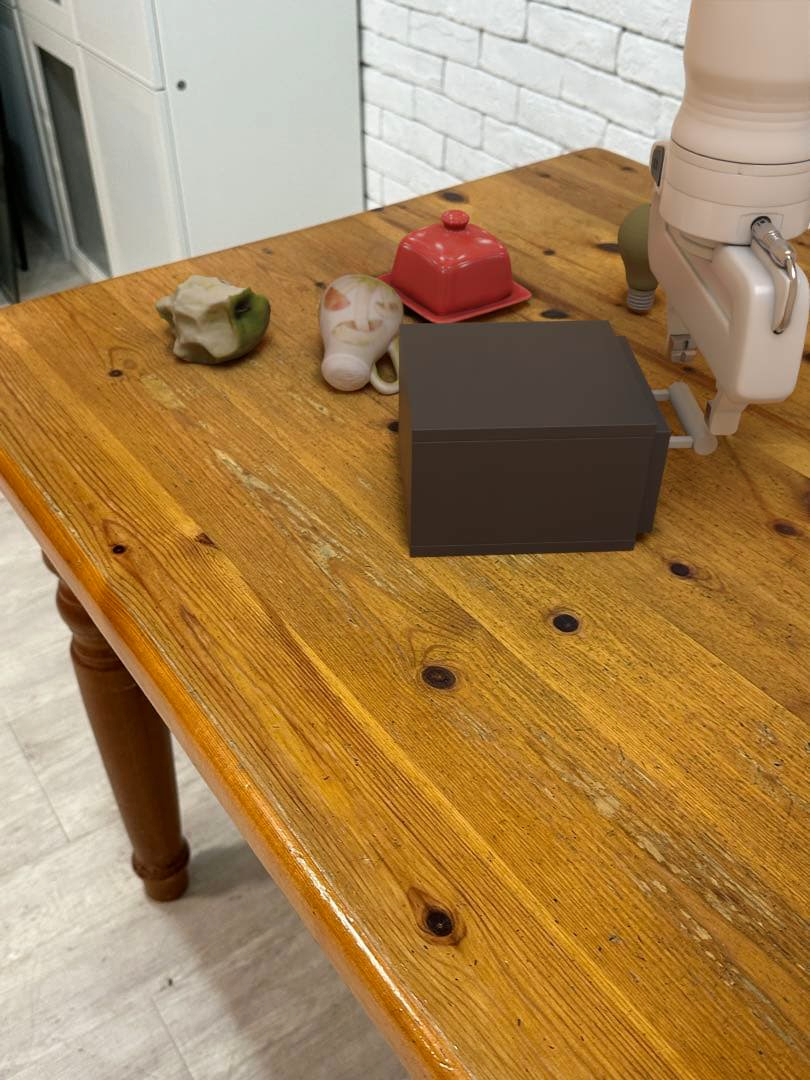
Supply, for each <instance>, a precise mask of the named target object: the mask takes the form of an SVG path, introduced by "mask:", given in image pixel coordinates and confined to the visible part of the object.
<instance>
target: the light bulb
mask: <svg viewBox="0 0 810 1080" xmlns="http://www.w3.org/2000/svg"><path fill="white" fill-rule="evenodd" d="M650 208H651V202H647V203H643V204H640V205H638V206H636V207H634V208H633V209H631V210H630V211H629V212H628V213H627V214H625V216H624V218H623V219H622V220H621V222H620V225H619V228H618V230H617V231H618V232H617V237H616V238H617V240H616V241H617V247H618V251H619V255H620V257H621V261H622V263H623V266H624V272H625V281H626V284H627V285H628V287H627V295H626V303H625V304H626V306H628V308H629V309H631V310H632V312H634V314H635V313H636V314H643V313H644V312H647V310H649V309H652V307H653V306H654V300H655V294H656V291H657V290H656V289H658V286H659V285H660V284H659V283H658V281H657V279H656V278H655V276H654V274H653V273H652V271H651V269H650V265H649V258H648V232H649V219H650Z"/></svg>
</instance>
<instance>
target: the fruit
mask: <svg viewBox="0 0 810 1080" xmlns="http://www.w3.org/2000/svg"><path fill="white" fill-rule="evenodd" d="M173 291H174V292H173V293H172V294H171V295H166V296H163V297H161V298H160V299H159V300H158V301H155V306H154V307H155V310H156V311H157V313H158V315H159V317H160V319H163V320H165V321H166V322H167V323H168V324H169V327H170V331H171V333H172V335H173V336H174V337H175V341H174V345H173V349H172V355H174V356H176V357H177V358H179V359H181V360H184V361H186V362H190V363H192V364H193V363H194V364H199V365H200V364H201V365H218V364H222V363H225V362H228V361H231V360H235V359H237V358H240V357H242V356H244V355H246V354H248V353H249V352H251V351H252V350H254V349H255V347H256V346H257V345H258V344H259V343H261V341H262V340H263V338H264V336H265V333H266V332H267V330H268V327H269V325H270V319H271V313H272V306H271V303H270V301H269V299H268V297H266V296H265V294H262V293H256V292H255V291H252V287H251V286H249V285H246V287H238V286H235V285H232V284H231V283H230V282H229V281H227V280H224V279H219V278H218V277H217V276H211V277H207V276H203V275H201V274H194V275H193V274H192V275H189V276H188V277H187V278H186V280H185V281H184V282H183V283H179V284H178V285H177V286H176V288H175V289H174V290H173Z"/></svg>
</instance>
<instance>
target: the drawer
mask: <svg viewBox="0 0 810 1080" xmlns="http://www.w3.org/2000/svg"><path fill="white" fill-rule="evenodd" d="M616 337H617V339H618V342H619V344H620V346H621V348H622V350H623V352H624V354H625V357H626V359H627V361H628V363H629V365H630V367H631V369H632V372H633V374H634V376H635V378H636V380H637V382H638V384H639V386H640V389H641V391H642V393H643V395H644V397H645V399H646V401H647V404H648V406H649V408H650V410H651V412H652V414H653V416H654V419H655V421H656V423H657V428H656V433H655V438H654V443H653V449H652V454H651V459H650V465H649V470H648V475H647V481H646V486H645V491H644V497H643V502H642V507H641V513H640V518H639V523H638V529H637V534H651V533H652V532H653V527H654V521H655V517H656V512H657V507H658V502H659V497H660V491H661V486H662V481H663V477H664V472H665V467H666V462H667V456H668V450H669V449H693V451H694V453H695V454H697V455H699V456H708V455H711V454H712V453H714V452H715V451H716V449H717V448H718V443H719V441H718V439H717V436H716V435H712V434H711V433H710V431H709V429H708V427H707V425H706V423H705V421H704V415H705V413H704V412H703V411H702V408H701V407H700V405H699V403H698V402H697V400H696V397H695V396H694V394H693V392H692V390H691V388H690V387H689V385H688V384H687V383H686V382H684V381H676V382H673V383H672V384H670V385H669V386H668V388H667V389H651V387H650V384H649V382H648V381H647V377H646V375H645V374H644V371H643V369H642V368H641V366H640V364H639V361H638V359H637V357H636V355H635V353H634V351H633V349H632V347H631V344H630V343H629V341H628V339H627V337H626V335H616ZM664 401H665V402H669V403H670V405H671V408H672V410H673V412H674V414H675V416H676V417H677V420H678V421H679V423H680V426H681V428H682V429H683V431H684V434H685V435H677V436H676V435H675V436H674V435H673V436H672V430H671V427H670V425H669V424H668V421H667V418H666V417H665V415H664V413H663V410H662V409H661V407H660V404H659V403H658V402H664Z"/></svg>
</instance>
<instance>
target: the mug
mask: <svg viewBox="0 0 810 1080" xmlns="http://www.w3.org/2000/svg"><path fill="white" fill-rule="evenodd" d="M404 314H405V313H404V303H402V301H401V299H400V297H399V296H398V294H397V293H396V292H395V291H394V290H393V289H392V288H391V287H390V286H389V285H387V284H386V283H384V282H383V281H381V280H379V279H377V278H376V277H373V276H371V275H366V274H359V273H358V274H357V273H356V274H354V273H353V274H345V275H341V276H339V277H338V278H336V279H334V280H332V281H331V282H330V284H329V285H327V287H326V288H325V290H324V291H323V294H322V295H321V298H320V301H319V304H318V308H317V322H318V329H319V332H320V336H321V340H322V343H323V346H324V354H323V358H322V362H321V365H320V370H321V374H322V377H323V378H324V380H325V381H326V382H327V383H328V384H329V385H330V386H331V387H333V388H335V389H337V390H339V391H343V392H352V391H357V390H360V389H362V388H363V387H364V386H365V385H366V384H368V383H370V384H371V385H372V387H373V388H374V389H376V391H378V393H380V394H383V395H393V394H397V393H399V324H404V317H405V315H404ZM386 353H388V355H389V357H390V359H391V362H392V364H393V367H394V370H395V374H396V381H395V382H392V383H390V382H386V381H384V380H382V378H380V376H379V373H378V369H377V366H376V363H377V362H378V361H379V360H380V359H382V357H383V356H384V355H385V354H386Z"/></svg>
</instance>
